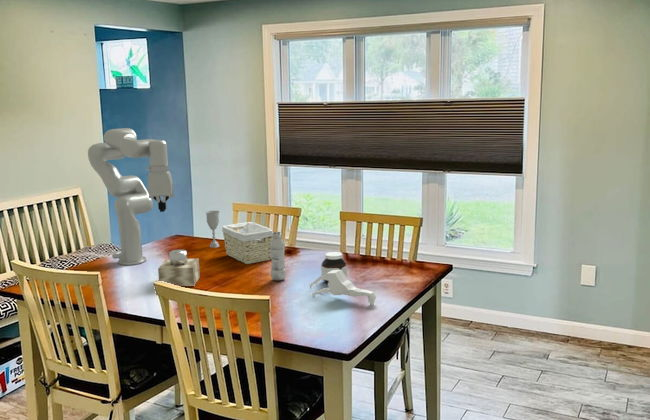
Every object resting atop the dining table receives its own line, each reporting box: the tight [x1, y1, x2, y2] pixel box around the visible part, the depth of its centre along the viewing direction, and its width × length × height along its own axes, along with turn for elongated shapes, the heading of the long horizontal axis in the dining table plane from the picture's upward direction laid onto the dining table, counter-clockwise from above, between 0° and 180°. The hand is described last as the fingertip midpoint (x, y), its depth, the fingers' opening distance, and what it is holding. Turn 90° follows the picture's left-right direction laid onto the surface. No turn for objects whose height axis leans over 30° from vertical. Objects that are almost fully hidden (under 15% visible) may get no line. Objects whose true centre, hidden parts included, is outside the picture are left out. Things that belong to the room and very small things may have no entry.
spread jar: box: [320, 251, 348, 284], centre depth 251 cm, size 12×11×12 cm
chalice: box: [204, 210, 220, 248], centre depth 312 cm, size 7×7×18 cm
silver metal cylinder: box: [168, 249, 188, 266], centre depth 253 cm, size 7×7×12 cm
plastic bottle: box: [270, 231, 287, 281], centre depth 252 cm, size 6×7×20 cm
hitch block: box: [157, 257, 201, 287], centre depth 254 cm, size 14×14×8 cm
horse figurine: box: [308, 270, 378, 306], centre depth 228 cm, size 5×16×25 cm
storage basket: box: [222, 221, 274, 265], centre depth 289 cm, size 24×16×15 cm
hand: (162, 211), depth 266 cm, fingers closed
